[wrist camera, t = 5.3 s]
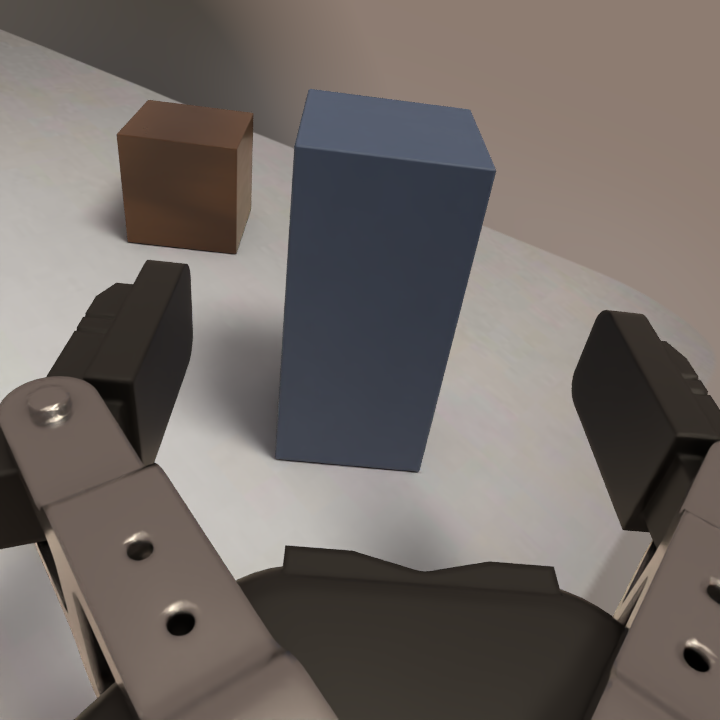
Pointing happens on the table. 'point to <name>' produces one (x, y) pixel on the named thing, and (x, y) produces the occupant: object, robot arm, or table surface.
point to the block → (186, 176)
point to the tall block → (375, 274)
